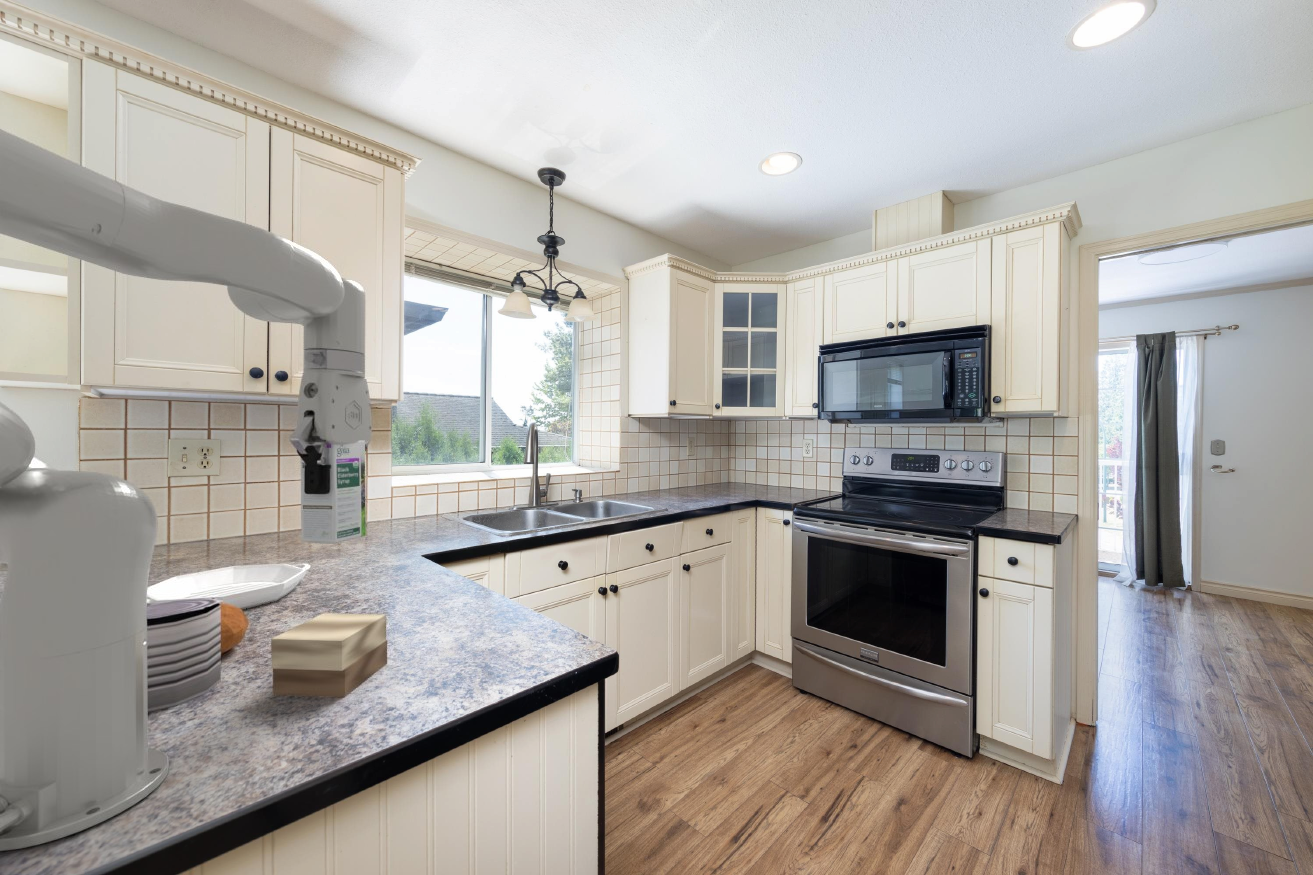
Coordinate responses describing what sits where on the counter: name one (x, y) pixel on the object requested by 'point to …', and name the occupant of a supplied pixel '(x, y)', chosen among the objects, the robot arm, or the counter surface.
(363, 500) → the syrup box
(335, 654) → the tower top block
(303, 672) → the tower base block
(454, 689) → the counter surface
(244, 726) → the counter surface
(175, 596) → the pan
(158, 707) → the can
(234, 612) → the potato
